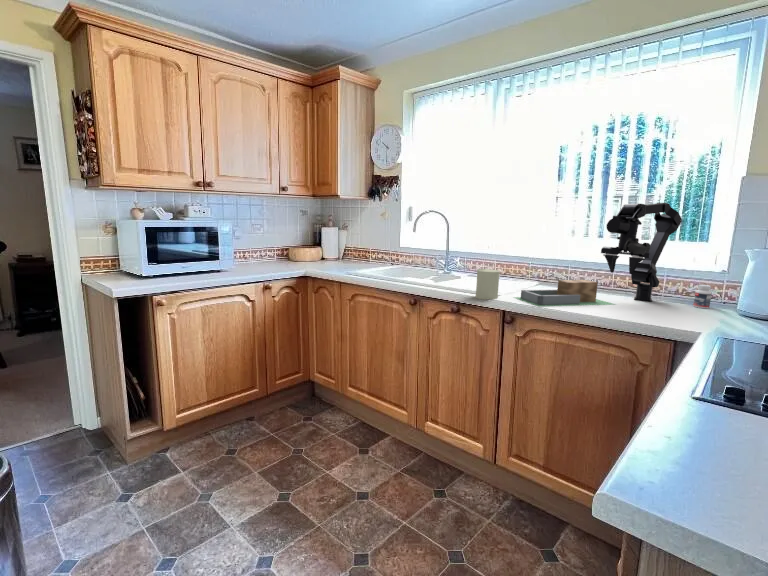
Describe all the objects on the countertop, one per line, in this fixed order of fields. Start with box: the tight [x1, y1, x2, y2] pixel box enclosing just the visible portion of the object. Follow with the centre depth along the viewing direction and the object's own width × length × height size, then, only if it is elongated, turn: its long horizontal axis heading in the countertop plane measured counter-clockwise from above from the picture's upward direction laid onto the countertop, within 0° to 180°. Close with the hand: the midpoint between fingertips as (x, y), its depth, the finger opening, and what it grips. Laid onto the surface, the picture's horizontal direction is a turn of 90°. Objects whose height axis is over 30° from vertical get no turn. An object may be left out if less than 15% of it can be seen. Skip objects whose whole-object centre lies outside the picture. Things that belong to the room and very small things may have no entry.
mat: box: [512, 296, 617, 308], centre depth 173 cm, size 35×18×1 cm, turn 104°
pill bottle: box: [692, 284, 712, 309], centre depth 169 cm, size 5×5×9 cm
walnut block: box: [556, 279, 598, 302], centre depth 174 cm, size 14×6×8 cm, turn 104°
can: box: [475, 268, 501, 301], centre depth 176 cm, size 9×9×12 cm
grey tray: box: [520, 289, 580, 305], centre depth 171 cm, size 18×13×4 cm
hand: (621, 273), depth 173 cm, fingers open, 9 cm apart
